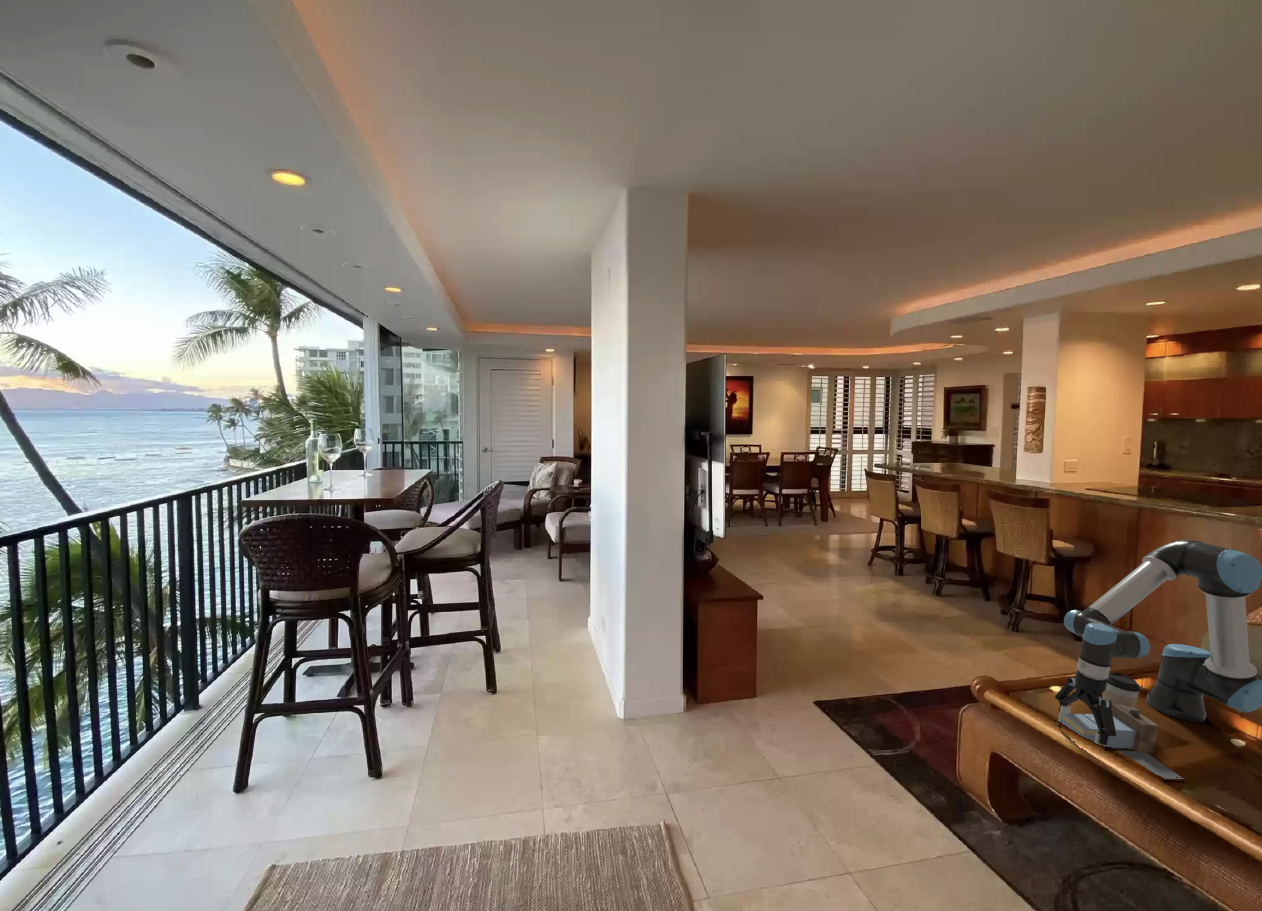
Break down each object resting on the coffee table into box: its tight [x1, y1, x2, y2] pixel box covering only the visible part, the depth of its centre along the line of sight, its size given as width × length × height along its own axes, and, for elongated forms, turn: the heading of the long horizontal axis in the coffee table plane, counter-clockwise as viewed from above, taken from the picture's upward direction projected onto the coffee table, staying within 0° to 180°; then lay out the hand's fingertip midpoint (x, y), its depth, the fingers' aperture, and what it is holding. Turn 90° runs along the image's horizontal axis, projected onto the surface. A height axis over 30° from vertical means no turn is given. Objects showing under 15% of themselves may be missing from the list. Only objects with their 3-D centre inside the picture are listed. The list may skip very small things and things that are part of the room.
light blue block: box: [1062, 713, 1099, 741], centre depth 176 cm, size 6×8×6 cm
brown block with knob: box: [1111, 704, 1160, 754], centre depth 177 cm, size 5×11×11 cm, turn 2°
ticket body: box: [1082, 713, 1136, 750], centre depth 177 cm, size 14×8×6 cm, turn 92°
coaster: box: [1117, 749, 1184, 779], centre depth 165 cm, size 12×12×1 cm
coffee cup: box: [1102, 671, 1141, 708], centre depth 189 cm, size 9×9×15 cm
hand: (1079, 738), depth 177 cm, fingers open, 13 cm apart
